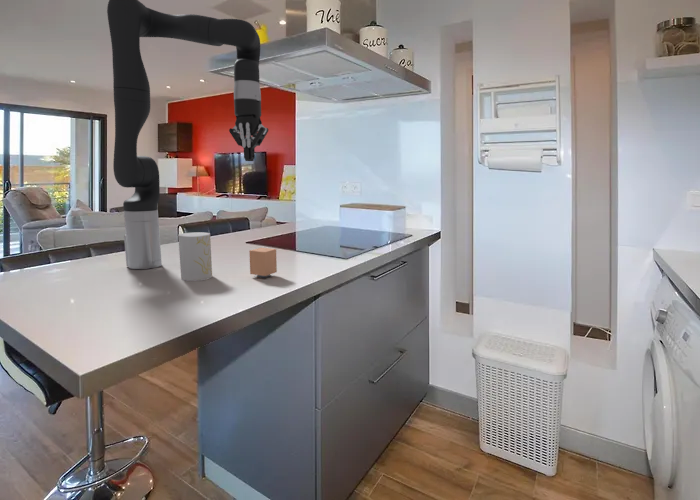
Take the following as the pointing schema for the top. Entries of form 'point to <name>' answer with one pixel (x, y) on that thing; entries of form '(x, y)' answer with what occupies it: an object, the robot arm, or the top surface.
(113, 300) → the top surface
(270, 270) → the tan cardboard box
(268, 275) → the post
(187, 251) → the white round cylinder
